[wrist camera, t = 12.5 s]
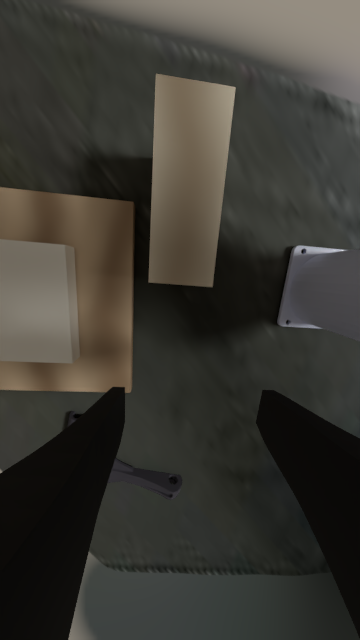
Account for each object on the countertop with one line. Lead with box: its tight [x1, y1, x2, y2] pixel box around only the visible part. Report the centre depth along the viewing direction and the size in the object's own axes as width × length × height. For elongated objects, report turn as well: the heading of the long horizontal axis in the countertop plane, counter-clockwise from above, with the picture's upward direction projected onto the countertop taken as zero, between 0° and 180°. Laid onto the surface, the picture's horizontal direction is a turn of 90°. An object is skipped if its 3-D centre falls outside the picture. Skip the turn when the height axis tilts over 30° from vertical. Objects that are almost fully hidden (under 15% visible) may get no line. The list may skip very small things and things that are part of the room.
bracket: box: [67, 411, 182, 500], centre depth 23 cm, size 14×15×3 cm
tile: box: [0, 239, 80, 364], centre depth 16 cm, size 2×10×6 cm
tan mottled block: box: [149, 74, 236, 287], centre depth 14 cm, size 4×10×7 cm, turn 176°
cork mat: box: [0, 187, 135, 393], centre depth 17 cm, size 16×18×1 cm
